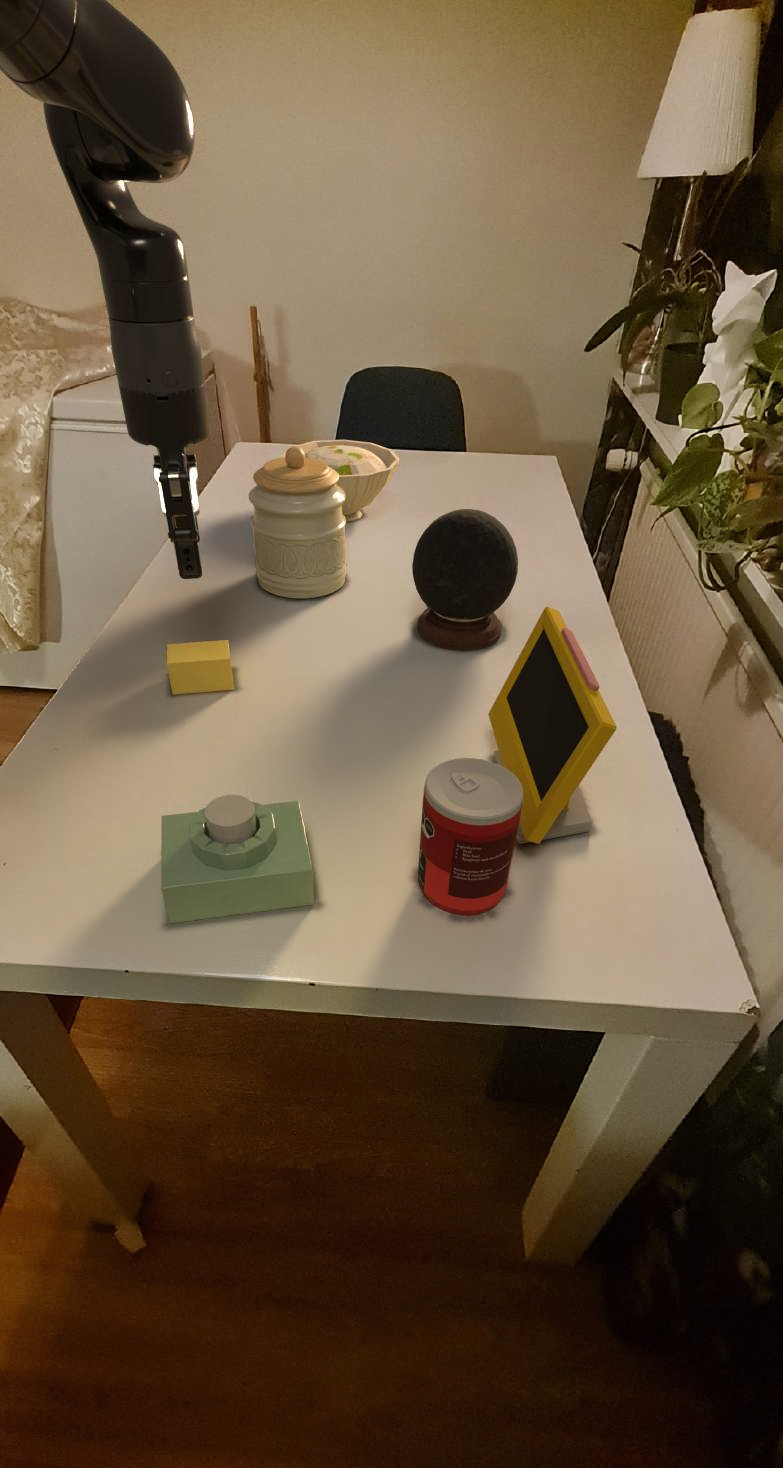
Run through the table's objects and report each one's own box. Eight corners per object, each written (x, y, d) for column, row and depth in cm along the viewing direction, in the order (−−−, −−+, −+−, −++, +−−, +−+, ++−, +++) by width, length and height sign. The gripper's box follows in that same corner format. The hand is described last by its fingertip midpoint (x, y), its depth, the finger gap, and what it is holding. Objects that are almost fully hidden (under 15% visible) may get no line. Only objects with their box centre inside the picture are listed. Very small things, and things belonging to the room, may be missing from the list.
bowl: (314, 543, 121) (311, 475, 114) (266, 503, 133) (261, 440, 126) (419, 524, 128) (422, 459, 121) (365, 488, 140) (365, 427, 133)
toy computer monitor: (484, 741, 84) (503, 602, 73) (554, 739, 84) (584, 602, 73) (519, 869, 69) (549, 720, 58) (604, 866, 70) (649, 719, 59)
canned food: (446, 843, 72) (456, 745, 64) (522, 879, 68) (542, 781, 61) (399, 890, 67) (404, 791, 59) (477, 931, 64) (494, 832, 56)
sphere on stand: (503, 660, 96) (521, 538, 86) (400, 647, 98) (405, 526, 88) (512, 613, 106) (529, 499, 95) (418, 602, 107) (425, 488, 97)
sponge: (172, 694, 89) (166, 663, 86) (172, 675, 92) (166, 644, 89) (234, 689, 90) (230, 658, 87) (231, 670, 93) (227, 639, 90)
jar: (237, 582, 110) (222, 447, 98) (298, 555, 118) (291, 426, 106) (305, 609, 105) (298, 470, 93) (364, 578, 112) (365, 446, 100)
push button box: (170, 923, 64) (157, 871, 59) (169, 850, 70) (157, 799, 66) (314, 904, 66) (311, 853, 61) (301, 835, 72) (297, 784, 68)
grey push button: (209, 847, 62) (205, 828, 61) (207, 816, 65) (203, 797, 63) (258, 842, 63) (256, 823, 61) (254, 810, 66) (252, 792, 64)
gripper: (121, 359, 72) (154, 534, 84) (113, 400, 62) (152, 592, 74) (202, 358, 74) (224, 530, 85) (207, 397, 64) (231, 587, 75)
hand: (190, 559), depth 79 cm, fingers open, 8 cm apart
